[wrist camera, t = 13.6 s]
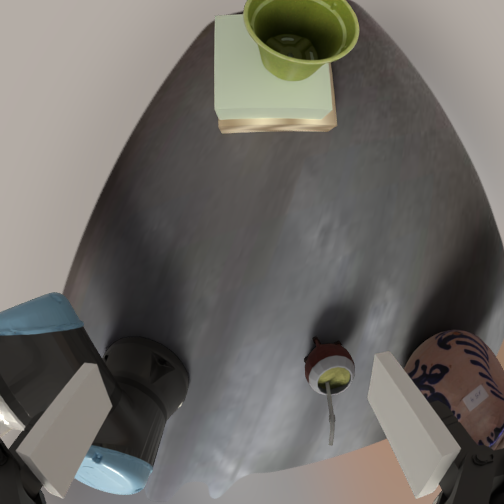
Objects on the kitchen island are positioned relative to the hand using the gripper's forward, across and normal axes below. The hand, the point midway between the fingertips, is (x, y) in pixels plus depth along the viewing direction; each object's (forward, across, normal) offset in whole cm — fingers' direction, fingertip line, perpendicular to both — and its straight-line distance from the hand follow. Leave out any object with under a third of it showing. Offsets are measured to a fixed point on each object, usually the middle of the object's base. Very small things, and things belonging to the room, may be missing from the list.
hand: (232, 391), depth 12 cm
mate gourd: (+29, +11, -17) cm, 35 cm away
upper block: (+24, +4, +23) cm, 33 cm away
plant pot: (+19, +6, +23) cm, 30 cm away
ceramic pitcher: (+29, +34, -22) cm, 50 cm away
